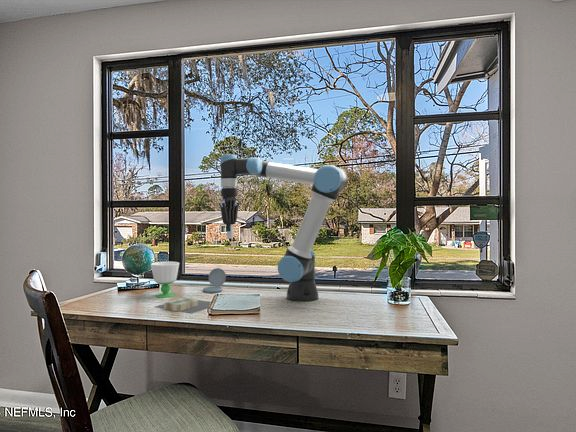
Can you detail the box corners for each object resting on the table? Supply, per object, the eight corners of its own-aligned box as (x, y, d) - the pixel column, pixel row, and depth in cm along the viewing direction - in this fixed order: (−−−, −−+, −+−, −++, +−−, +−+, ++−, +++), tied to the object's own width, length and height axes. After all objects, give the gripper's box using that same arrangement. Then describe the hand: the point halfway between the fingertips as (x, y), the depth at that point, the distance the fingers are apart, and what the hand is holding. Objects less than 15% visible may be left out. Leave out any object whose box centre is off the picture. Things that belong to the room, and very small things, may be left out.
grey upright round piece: (227, 268, 229) (216, 272, 214) (227, 289, 229) (216, 294, 215) (209, 267, 231) (197, 272, 216) (209, 288, 231) (197, 293, 217)
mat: (223, 305, 193) (223, 303, 193) (191, 315, 175) (191, 313, 175) (186, 299, 204) (186, 298, 204) (153, 308, 187) (153, 306, 187)
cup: (152, 299, 204) (151, 266, 203) (149, 293, 216) (149, 262, 216) (181, 297, 209) (181, 264, 208) (177, 291, 221) (177, 260, 221)
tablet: (198, 299, 189) (177, 305, 179) (198, 305, 189) (178, 311, 179) (184, 297, 193) (164, 302, 183) (184, 303, 193) (164, 309, 183)
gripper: (231, 188, 211) (232, 237, 211) (213, 187, 199) (215, 239, 200) (243, 188, 207) (244, 237, 208) (227, 187, 196) (228, 239, 196)
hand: (230, 238), depth 204 cm, fingers closed
